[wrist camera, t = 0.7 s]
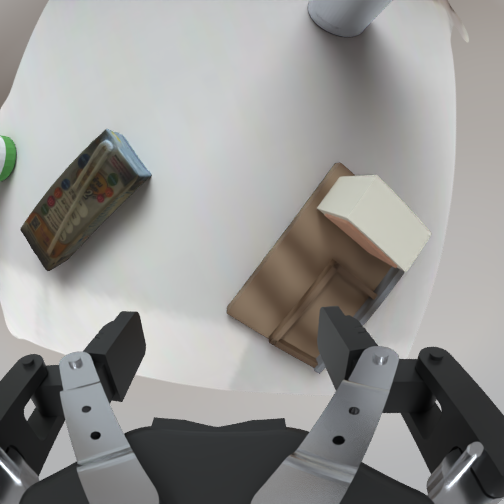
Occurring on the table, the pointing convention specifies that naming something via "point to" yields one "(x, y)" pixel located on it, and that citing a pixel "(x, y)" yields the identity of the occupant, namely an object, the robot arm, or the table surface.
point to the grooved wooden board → (312, 280)
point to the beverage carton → (83, 198)
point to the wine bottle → (6, 157)
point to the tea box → (376, 219)
